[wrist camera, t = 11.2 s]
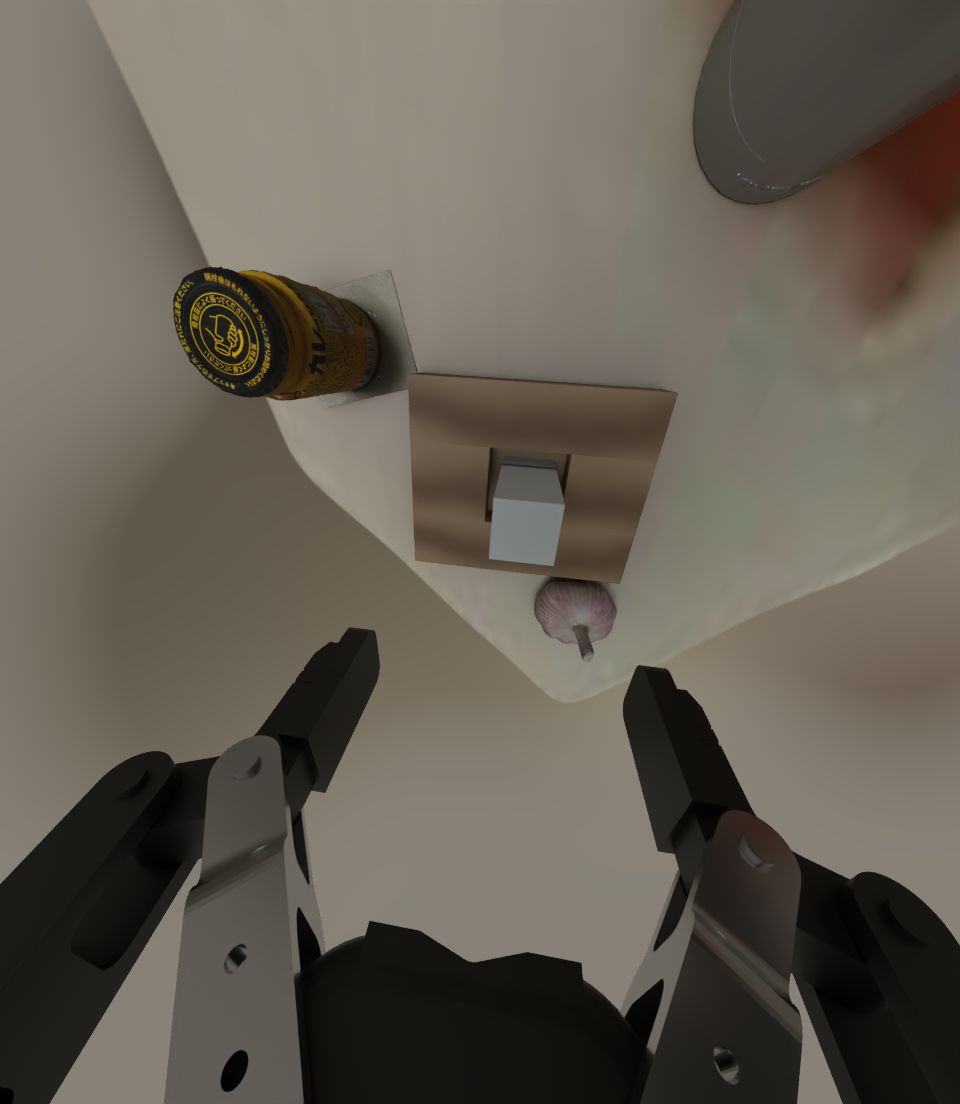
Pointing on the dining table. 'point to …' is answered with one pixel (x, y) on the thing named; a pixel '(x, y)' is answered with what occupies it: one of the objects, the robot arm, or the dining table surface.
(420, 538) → the board
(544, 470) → the peg
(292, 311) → the condiment
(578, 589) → the garlic bulb
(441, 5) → the dining table surface
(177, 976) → the robot arm
